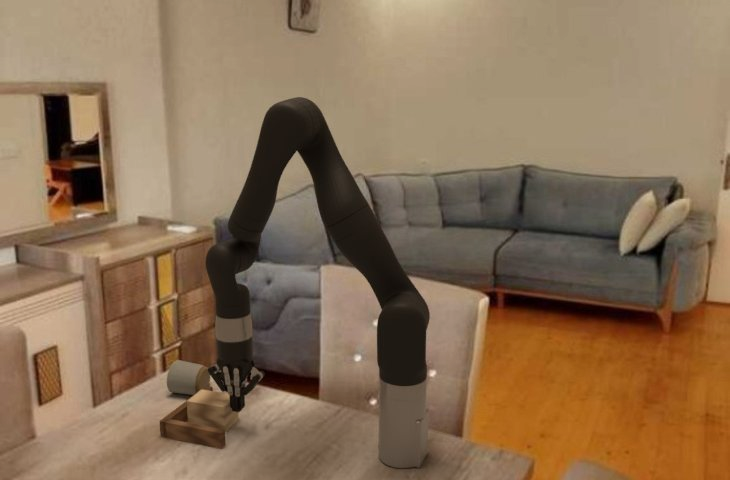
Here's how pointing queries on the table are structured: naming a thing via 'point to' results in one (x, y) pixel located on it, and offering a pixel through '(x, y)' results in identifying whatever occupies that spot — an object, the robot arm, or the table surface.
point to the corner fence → (191, 428)
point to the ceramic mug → (187, 377)
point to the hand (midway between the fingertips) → (237, 410)
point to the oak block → (211, 410)
